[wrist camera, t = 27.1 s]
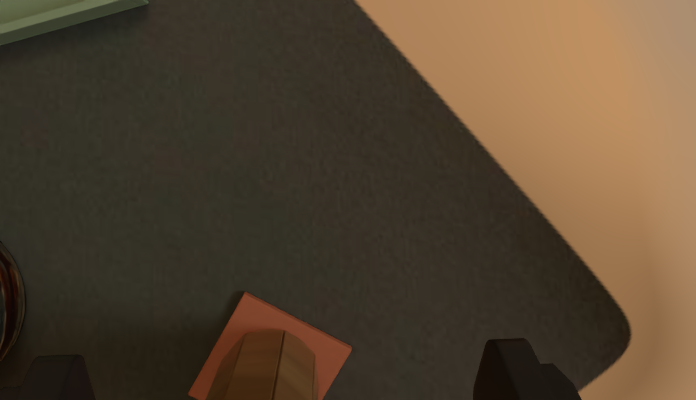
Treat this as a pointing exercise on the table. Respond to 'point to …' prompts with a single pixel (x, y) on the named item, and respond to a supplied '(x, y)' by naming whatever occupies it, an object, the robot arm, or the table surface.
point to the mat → (266, 316)
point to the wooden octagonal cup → (266, 369)
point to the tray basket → (53, 15)
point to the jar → (10, 302)
